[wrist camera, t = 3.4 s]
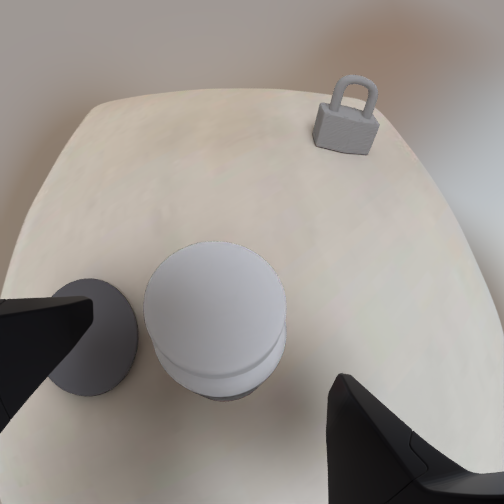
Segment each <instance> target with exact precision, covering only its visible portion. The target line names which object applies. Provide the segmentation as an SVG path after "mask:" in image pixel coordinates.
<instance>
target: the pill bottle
mask: <svg viewBox="0 0 504 504" xmlns="http://www.w3.org/2000/svg"><path fill="white" fill-rule="evenodd" d="M143 312H144V320H145V325H146V328H147V331H148V333H149V335H150V337H151V339H152V341H153V346H154V349H155V352H156V355H157V357H158V359H159V361H160V363H161V365H162V366H163V368H164V369H165V371H166V372H167V373H168V374H169V375H170V376H171V377H172V378H173V379H174V380H175V381H176V382H178V383H179V384H180V385H182V386H184V387H185V388H187V389H189V390H191V391H192V392H194V393H197V394H199V395H201V396H204V397H206V398H208V399H211V400H216V401H233V400H237V399H240V398H243V397H245V396H247V395H249V394H250V393H252V392H253V391H254V390H255V389H257V388H258V387H259V386H260V385H261V384H262V383H263V382H264V381H265V380H266V379H267V378H268V377H269V376H270V375H271V374H272V372H273V371H274V369H275V368H276V366H277V365H278V363H279V361H280V359H281V357H282V354H283V351H284V348H285V343H286V322H285V318H286V296H285V292H284V288H283V286H282V283H281V281H280V279H279V277H278V275H277V274H276V272H275V271H274V269H273V268H272V267H271V266H270V264H269V263H268V262H266V261H265V260H264V259H263V258H262V257H261V256H260V255H258V254H257V253H255V252H253V251H252V250H250V249H248V248H246V247H243V246H240V245H237V244H233V243H229V242H221V241H208V242H200V243H196V244H193V245H190V246H187V247H185V248H182V249H180V250H178V251H177V252H175V253H173V254H172V255H170V256H169V257H168V258H167V259H166V260H164V261H163V262H162V263H161V264H160V265H159V267H158V268H157V269H156V271H155V272H154V274H153V275H152V277H151V279H150V281H149V283H148V285H147V288H146V291H145V296H144V302H143Z"/></svg>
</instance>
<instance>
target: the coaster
mask: <svg viewBox="0 0 504 504" xmlns="http://www.w3.org/2000/svg"><path fill="white" fill-rule="evenodd" d="M82 295H83V296H86V297H88V298H91V299H92V301H93V314H94V319H93V323H92V325H91V326H90V327H89V329H88V330H87V331H86V333H85V334H84V335H83V336H82V338H81V339H80V340H79V342H78V343H77V344H76V346H75V347H74V348H73V349H72V351H71V352H70V353H69V354H68V355H67V356H66V357H65V358H64V359H63V360H62V361H61V363H60V364H59V365H58V366H57V367H56V368H55V369H54V370H53V371H52V372H51V373H50V375H49V376H48V377H49V378H50V379H51V380H52V381H53V382H54V383H55V384H56V385H57V386H58V387H60V388H61V389H63V390H65V391H67V392H69V393H72V394H76V395H81V396H95V395H100V394H103V393H105V392H107V391H109V390H111V389H112V388H114V387H115V386H116V385H118V384H119V383H120V382H121V381H122V380H123V378H124V377H125V376H126V374H127V373H128V371H129V370H130V368H131V366H132V364H133V361H134V358H135V355H136V351H137V345H138V328H137V322H136V318H135V315H134V312H133V310H132V308H131V306H130V304H129V303H128V301H127V300H126V299H125V297H124V296H123V295H122V294H121V293H120V292H119V290H117V289H116V288H115V287H114V286H112V285H110V284H109V283H107V282H104V281H102V280H98V279H80V280H76V281H73V282H71V283H69V284H67V285H65V286H64V287H62V288H61V289H59V290H58V291H57V292H56V293H55V294H54V295H53V296H52V297H66V296H82Z"/></svg>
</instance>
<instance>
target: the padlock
mask: <svg viewBox="0 0 504 504" xmlns="http://www.w3.org/2000/svg"><path fill="white" fill-rule="evenodd" d="M350 84H359V85H362V86H364V87H366V88H367V89H368V92H369V93H368V94H369V95H368V99H367V102H366V105H365V108H364V111H362V110H358V109H356V108H351V107H348V106H342V105H340V104H341V100H342V97H343V93H344V90H345V89H346V87H347V86H348V85H350ZM377 98H378V90H377V87H376V85H375V84H374V83H373V82H372V81H371V80H369V79H367V78H365V77H362V76H358V75H347V76H344V77H342V78H341V79H340V80H339V81H338V82H337V84H336V86H335V88H334V92H333V95H332V99H331V103H330V104H327V103H320V105H319V110H318V113H317V117H316V121H315V125H314V129H313V133H312V134H313V137H314V141H315V144H316V146H318V147H322V148H327V149H331V150H335V151H339V152H343V153H353V154H364V155H367V154H368V153H369V151H370V148H371V146H372V143H373V141H374V138H375V136H376V134H377V131H378V128H379V125H380V124H379V123H378V121H377V120H376V118H375V117H374V115H373V114H372V113H373V110H374V107H375V104H376V101H377Z"/></svg>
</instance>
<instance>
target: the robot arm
mask: <svg viewBox="0 0 504 504" xmlns="http://www.w3.org/2000/svg"><path fill="white" fill-rule="evenodd" d="M93 319H94V314H93V301H92V299H91V298H88V297H86V296H83V295H82V296H66V297H47V298H25V299H7V300H6V299H0V433H1V432H2V431H3V429H4V428H5V427H6V425H7V424H8V423H9V422H10V419H12V418H13V416H14V415H15V414H16V413H17V412H18V410H19V409H20V408H21V407H22V406H23V404H24V403H25V402H26V401H27V400H28V398H29V397H30V396H31V395H32V394H33V393H34V391H35V390H36V389H37V388H38V387H39V386H40V385H41V383H42V382H43V381H44V380H45V379H46V378H47V377H48V376H49V375H50V373H51V372H52V371H53V370H54V369H55V368H56V367H57V366H58V365H59V364H60V363H61V361H62V360H63V359H64V358H65V357H66V356H67V355H68V354H69V353H70V352H71V351H72V349H73V348H74V347H75V346H76V344H77V343H78V342H79V340H80V339H81V338H82V336H83V335H84V334H85V333H86V331H87V330H88V329H89V327H90V326H91V325H92V323H93ZM326 444H327V463H328V497H329V504H504V472H496V473H486V474H479V473H473V472H470V471H468V470H466V469H464V468H463V467H461V466H460V465H458V464H457V463H455V462H454V461H452V460H451V459H449V458H448V457H446V456H445V455H444V454H442V453H441V452H439V451H438V450H437V449H435V448H434V447H432V446H431V445H430V444H429V443H427V442H426V441H425V440H424V439H422V438H421V437H420V436H419V435H418V434H417V433H415V432H414V431H412V429H411V428H410V427H408V426H407V425H406V424H405V423H404V422H403V421H402V420H400V419H399V418H398V417H397V416H396V415H395V414H394V413H393V412H391V411H390V410H389V409H388V408H387V407H386V406H385V405H384V404H382V403H381V402H380V401H379V400H378V399H377V398H376V397H375V396H373V395H372V394H371V393H370V392H369V391H368V390H367V389H366V388H365V387H363V386H362V385H361V384H360V383H359V382H358V381H357V380H356V379H355V378H354V377H352V376H351V375H349V374H343V373H340V374H338V376H337V377H336V379H335V381H334V383H333V385H332V387H331V389H330V391H329V394H328V406H327V424H326Z"/></svg>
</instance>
